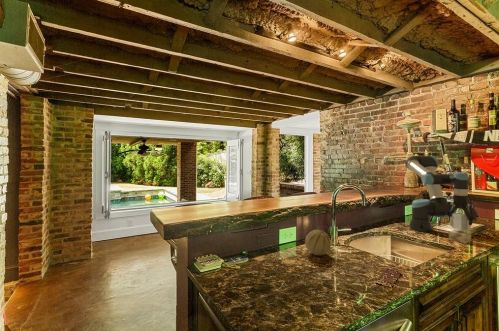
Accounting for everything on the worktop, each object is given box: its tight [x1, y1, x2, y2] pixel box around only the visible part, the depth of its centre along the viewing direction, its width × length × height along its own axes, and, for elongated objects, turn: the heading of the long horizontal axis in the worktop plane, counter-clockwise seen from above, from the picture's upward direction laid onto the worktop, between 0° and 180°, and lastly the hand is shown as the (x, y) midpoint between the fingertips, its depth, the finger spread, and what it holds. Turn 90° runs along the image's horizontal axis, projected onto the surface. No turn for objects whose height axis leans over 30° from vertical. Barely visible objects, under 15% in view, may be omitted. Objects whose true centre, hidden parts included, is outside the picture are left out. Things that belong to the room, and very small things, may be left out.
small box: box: [451, 212, 470, 232], centre depth 170 cm, size 8×6×10 cm
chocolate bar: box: [376, 266, 402, 285], centre depth 119 cm, size 7×19×2 cm, turn 137°
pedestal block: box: [448, 229, 472, 244], centre depth 170 cm, size 9×9×6 cm
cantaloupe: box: [304, 229, 332, 256], centre depth 149 cm, size 15×15×15 cm
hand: (460, 227), depth 170 cm, fingers closed on small box, 9 cm apart
